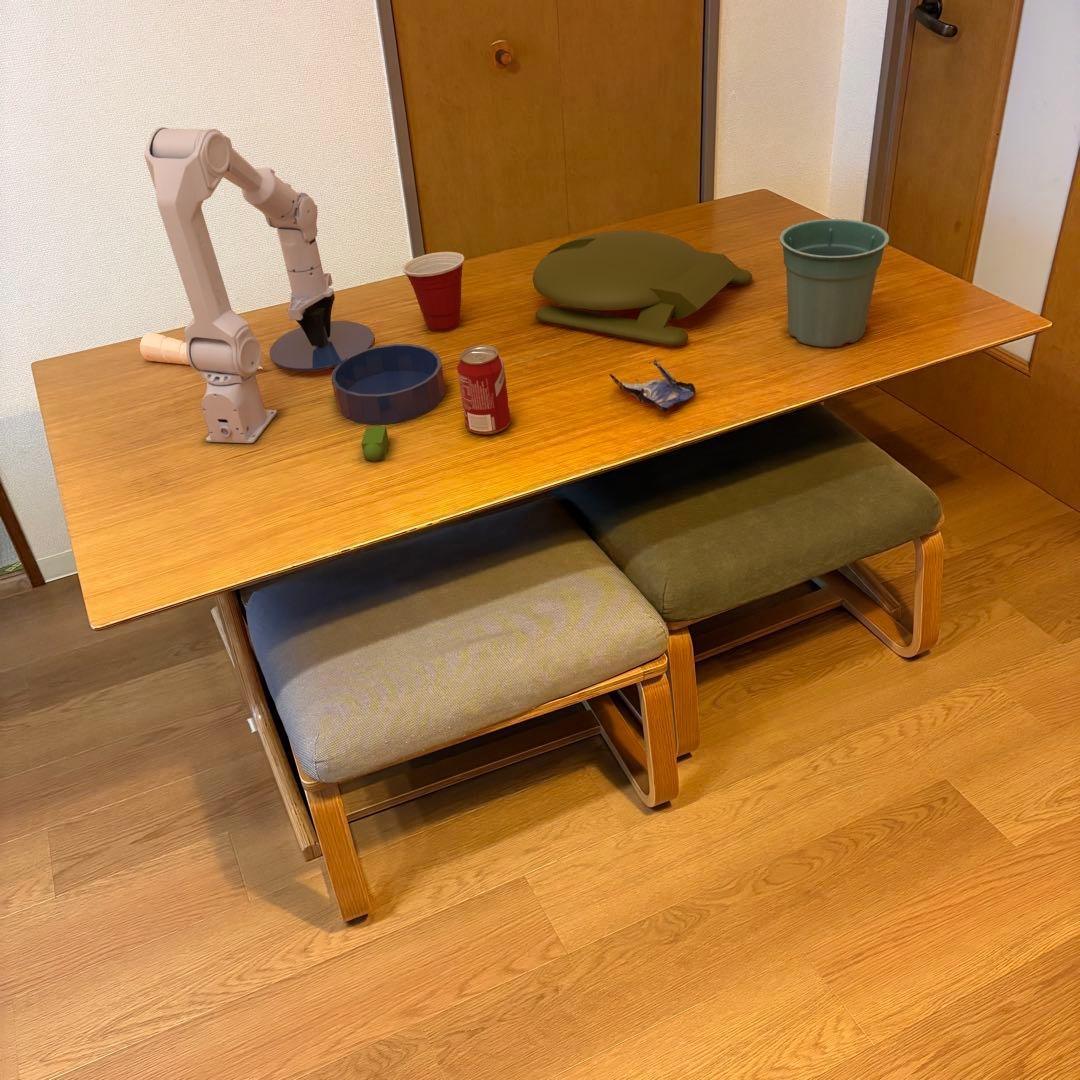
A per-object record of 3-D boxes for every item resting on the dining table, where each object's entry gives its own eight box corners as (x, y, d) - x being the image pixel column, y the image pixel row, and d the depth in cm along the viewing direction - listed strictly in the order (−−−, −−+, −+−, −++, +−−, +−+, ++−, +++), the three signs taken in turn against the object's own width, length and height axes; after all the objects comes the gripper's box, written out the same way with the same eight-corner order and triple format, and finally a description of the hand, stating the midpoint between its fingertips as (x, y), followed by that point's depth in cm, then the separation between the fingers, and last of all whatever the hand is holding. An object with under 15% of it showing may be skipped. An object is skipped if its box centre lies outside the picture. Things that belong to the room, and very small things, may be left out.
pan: (427, 426, 165) (422, 397, 162) (321, 423, 168) (315, 394, 165) (457, 372, 178) (453, 344, 175) (359, 370, 182) (353, 343, 179)
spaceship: (756, 280, 196) (758, 227, 191) (680, 353, 176) (679, 296, 171) (589, 255, 213) (586, 205, 207) (502, 318, 193) (495, 266, 187)
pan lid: (354, 375, 178) (349, 351, 176) (253, 373, 182) (247, 350, 180) (389, 326, 192) (384, 304, 190) (294, 325, 196) (289, 303, 194)
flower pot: (826, 301, 187) (833, 209, 178) (901, 332, 175) (912, 235, 166) (754, 331, 180) (757, 237, 171) (826, 365, 169) (834, 266, 159)
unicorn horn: (250, 381, 182) (243, 355, 179) (142, 364, 191) (133, 339, 188) (267, 368, 185) (260, 342, 182) (160, 352, 194) (151, 327, 192)
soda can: (494, 441, 159) (485, 368, 152) (457, 432, 162) (446, 359, 155) (519, 420, 164) (511, 347, 157) (482, 411, 167) (473, 340, 160)
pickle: (383, 463, 157) (380, 447, 155) (363, 465, 157) (359, 448, 156) (390, 437, 163) (387, 421, 161) (370, 438, 163) (367, 422, 161)
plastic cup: (446, 306, 199) (436, 243, 192) (485, 321, 193) (477, 256, 186) (400, 328, 194) (388, 264, 186) (439, 344, 187) (428, 278, 180)
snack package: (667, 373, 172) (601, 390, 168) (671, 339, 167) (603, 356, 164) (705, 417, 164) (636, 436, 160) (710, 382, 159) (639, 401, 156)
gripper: (309, 283, 172) (327, 361, 180) (341, 248, 183) (357, 322, 191) (268, 283, 173) (288, 360, 181) (303, 248, 184) (319, 322, 192)
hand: (320, 341), depth 186 cm, fingers closed on pan lid, 2 cm apart
